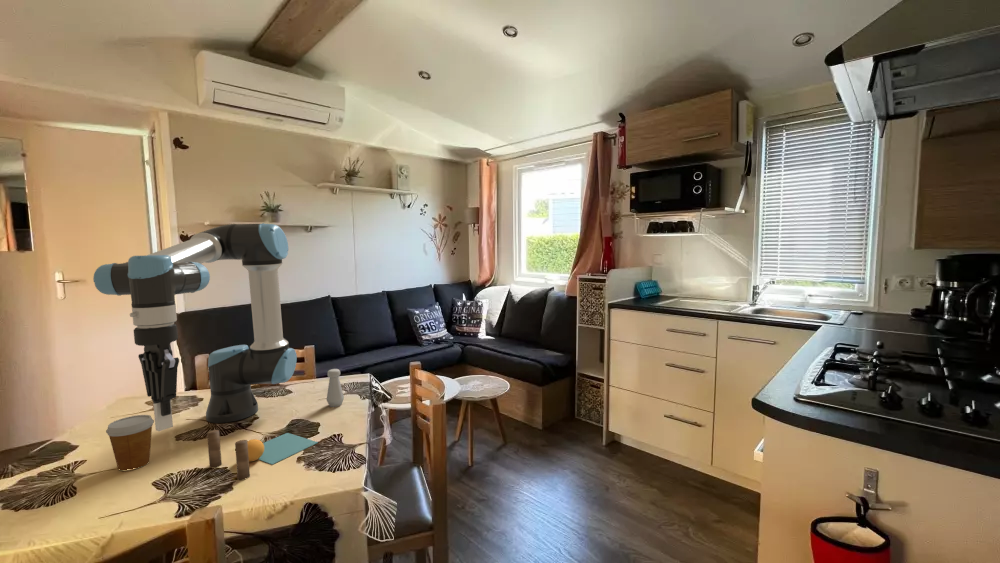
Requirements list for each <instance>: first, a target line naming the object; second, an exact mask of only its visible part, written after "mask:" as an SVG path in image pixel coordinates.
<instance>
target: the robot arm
mask: <svg viewBox="0 0 1000 563" xmlns="http://www.w3.org/2000/svg"><path fill="white" fill-rule="evenodd" d="M288 255H289V243H288V238H287V236H286V234H285V232H284V230H283V229H282V228H281V227H280V225H277V224H273V223H265V222H263V223H238V224H236V223H231V224H230V223H229V224H224V225H219V226H215V227H212V228H209V229H206V230H204V231H203V230H202V231H201V232H198V233H195V234H193V235H192V236H191V237H190V239H188V240H185V241H183V242H180V243H177V244H174V245H172V246H168V247H166V248H163V249H161V250H157V251H155V252H153V253H150V254H147V255H133V256H130V257H129V258H128V259H127V260H128V261H126V262H123V263H121V262H120V263H118V262H113V263H108V264H107V263H105V264H102V265H100V266H98V267H97V268H96V269H95V271H94V273H93V283H94V286H95V287H94V288H96V289H97V291H98V292H100V293H101V294H103V295H108V296H109V295H110V296H130V297H131V310H132V312H130V313H129V316H130V317H131V318H132V325H133V326H134V327H135V328H134V329H133V338H134V341H133V342H134V344H135V345H136V346H141V347H144V348H143V353H139V354H138V360H139V363H140V365H141V369H142V375H143V380H144V381H143V382H144V384H145V390H146V395H147V397H150V399H151V400H152V404H153V413H154V414H153V416H154V425H155V427H154V428H155V431H158V432H162V431H164V430H168V429H170V428H173V427H174V422H173V411H172V410H173V409H172V399H174V398H175V399H176V398H177V389H178V388H177V386H178V385H177V382H178V367H179V363H180V359H179V357H173V355H174V354H173V350H172V349H173V348H172V346H171V344H172V342H176V341H177V340H178V339H179V335H178V334H179V333H178V325H177V324H176V322H177V320H178V315H177V305H176V299H175V298H176V297H175V296H176V295H182V294H190V293H191V294H193V293H196V292H198V291H202V290H204V289H205V288H206V287H207V286H208V285H209V283H210V280H211V276H210V272H209V269H208V268H207V267H206V266H205V265H203V264H204V263H206V264H207V263H208V264H209V263H214V262H216V261H217V262H218V261H224V260H225V261H226V260H229V261H230V260H231V261H233V260H235V261H236V260H238V261H239V260H240V261H241V265H242V267H243V268H245V269H246V270H247V271H248V272H247V273H248V281H249V282H248V284H249V293H250V294H249V295H250V303H251V304H250V305H251V306H250V307H251V315H252V328H253V339H254V340H253V343H251V345H247V344H239V345H238V344H237V345H233V346H232V345H231V346H228V347H224V348H220V349H217V350H214V351H212V352H211V353H210V354H209V355H208V361H207V367H208V376H209V388H210V398H209V401H208V404H207V409H206V411H205V419H206V420H205V421H206V422H208V423H212V424H219V423H220V424H222V423H231V422H236V421H241V420H244V419H246V418H249V417H251V416H253V415H255V414H256V413H257V412H258V410H259V402H258V401H257V399H256V397H255V395H254V392H253V391H252V385H265V384H266V385H277V384H283V383H287V382H288V381H290V379H291V378H292V376H293V375H294V373H295V369H296V367H297V361H298V360H297V358H298V355H297V352H296V349H294V348H292V347H290V344H289V341H288V340H287V339H286V338H284V333H283V331H284V330H283V320H282V309H281V308H282V307H281V295H280V294H281V293H280V283H279V271H278V269H279V268H280V267H281V266H282V264H283V260H285V259H286V258H287V256H288Z"/></svg>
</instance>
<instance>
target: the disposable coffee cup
mask: <svg viewBox="0 0 1000 563" xmlns="http://www.w3.org/2000/svg"><path fill="white" fill-rule="evenodd" d="M154 424H155V419H153V417H152V415H150V414H140V415H139V414H137V415H131V416H127V417H123V418H120V419H117V420H114V421H112V422H110V423H109V424H108V425H107V429H106V430H105V433H106V434H107V436H108V438H109V440H110V444H111V447H112V452H113V456H114V458H115V462H116V466H117V470H118V469H120V470H127V469H133V468H138V467H140V468H142V467H141V466H143V467H145V466H146V465H148V464H149V463H150V460H151V459H150V458H151V445H152V444H151V442H152V433H153V432H152V430H153V425H154ZM148 462H149V463H148ZM147 463H148V464H147ZM144 465H145V466H144ZM138 469H139V468H138Z"/></svg>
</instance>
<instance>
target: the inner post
mask: <svg viewBox="0 0 1000 563" xmlns="http://www.w3.org/2000/svg"><path fill="white" fill-rule="evenodd" d="M206 435H207V436H206V437H207V448H208V460H209V468H210V467H215V468H218V467H220V466H222V464H223V463H222V452H221V439H220V438H221V436H220V430H219V429H213V430H210V431H207V433H206ZM217 466H218V467H217Z"/></svg>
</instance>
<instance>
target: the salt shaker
mask: <svg viewBox="0 0 1000 563" xmlns="http://www.w3.org/2000/svg"><path fill="white" fill-rule="evenodd" d="M340 376H341V370H340V369H338V368H332V369H329V370H328V371H327V377H328V378H329V380H328V381H329V382H328V386H327V387H328V388H327V394H326V402H327V404H328V406H329V407H330V408H337V407H341V406H342V404H343V402H344V398H345V397H344V392H343V388H342V384H341V379H340Z"/></svg>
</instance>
